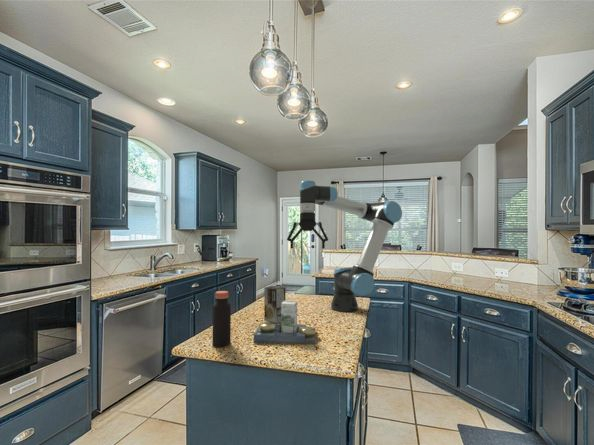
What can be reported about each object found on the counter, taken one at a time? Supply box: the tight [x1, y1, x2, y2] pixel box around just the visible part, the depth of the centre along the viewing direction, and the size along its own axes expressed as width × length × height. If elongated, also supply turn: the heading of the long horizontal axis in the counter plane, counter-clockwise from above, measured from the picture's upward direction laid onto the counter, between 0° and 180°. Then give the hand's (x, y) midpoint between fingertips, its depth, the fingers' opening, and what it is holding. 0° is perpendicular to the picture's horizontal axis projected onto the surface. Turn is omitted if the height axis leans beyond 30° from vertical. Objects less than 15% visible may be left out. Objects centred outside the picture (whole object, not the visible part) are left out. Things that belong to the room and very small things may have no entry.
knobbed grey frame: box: [253, 321, 307, 344], centre depth 130 cm, size 20×15×5 cm
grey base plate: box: [268, 325, 317, 345], centre depth 129 cm, size 18×15×4 cm
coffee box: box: [263, 285, 286, 324], centre depth 154 cm, size 9×6×16 cm
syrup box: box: [280, 300, 298, 333], centre depth 130 cm, size 6×6×14 cm
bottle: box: [212, 290, 232, 348], centre depth 121 cm, size 7×7×20 cm
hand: (307, 255), depth 155 cm, fingers open, 13 cm apart
